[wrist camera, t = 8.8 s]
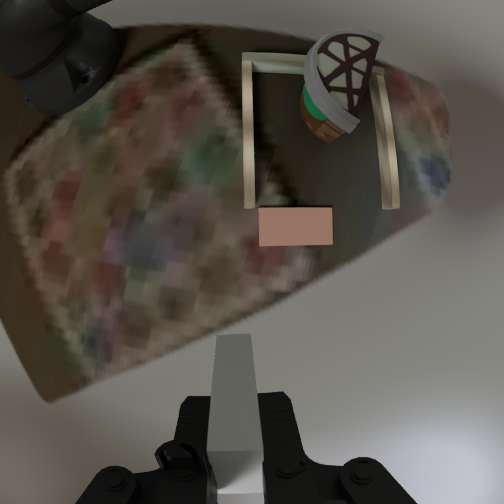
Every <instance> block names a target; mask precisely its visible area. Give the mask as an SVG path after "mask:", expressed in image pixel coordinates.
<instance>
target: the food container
mask: <svg viewBox="0 0 504 504" xmlns="http://www.w3.org/2000/svg"><path fill="white" fill-rule="evenodd" d="M383 39H384V37H383V36H381V35H379V34H377V33H374V32H371V31H368V30H364V29H359V28H344V29H338V30H335V31H333V32H331V33H328V34H326V35H325V36H323V37H322V38H321V39H319V40H318V41H317V42H316V43H315V44H314V45H313V46H312V48H311V49H310V50H309V52H308V53H307V55H306V58H305V61H304V69H303V71H304V79H305V84H304V87H303V90H302V93H301V97H300V102H299V107H300V113H301V116H302V119H303V121H304V123H305V124H306V126H307V127H308V128H309V130H310V131H311V132H312V133H313V134H314V135H315V136H316V137H318V138H319V139H320V140H322V141H324V142H326V143H327V144H329V143H330V142H332V141H333V140H334V139H336V138H337V137H339V136H340V135H342V134H343V133H345V132H348V133H349V134H350V133H351V132H352V131H353V130H354V128H355V127H356V126H357V124H358V123H359V122H360V120H359V119H357V117H358V113H359V109H360V106H361V103H362V100H363V97H364V94H365V91H366V88H367V85H368V82H369V79H370V76H371V73H372V68H373V64H374V60H375V57H376V53H377V50H378V46H379V44H380V43H381V42H382V40H383Z"/></svg>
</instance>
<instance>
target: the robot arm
mask: <svg viewBox="0 0 504 504" xmlns="http://www.w3.org/2000/svg"><path fill="white" fill-rule="evenodd" d="M109 1H112V0H0V71H1V72H3V73H4V74H6V75H8V76H9V77H11V78H12V79H14V80H15V82H16V84H17V85H18V87H19V88H20V90H21V91H22V92H23V94H24V97H25V99H26V101H27V103H28V104H29V105H30V106H31V107H32V108H34V109H36V110H37V111H39V112H41V113H43V114H46V115H59V114H62V113H65V112H68V111H70V110H72V109H74V108H76V107H78V106H79V105H81V104H82V103H84V102H85V101H86V100H88V99H89V98H90V97H91V96H92V95H93V94H94V93H96V92H97V90H98V89H99V88H100V87H101V86H102V85H103V84H104V83H105V81H106V80H107V79H108V77H109V76H110V74H111V72H112V71H113V69H114V67H115V65H116V62H117V60H118V56H119V51H120V43H119V39H118V37H117V35H116V33H115V32H114V30H113V29H112V27H111V26H110V25H109V24H108V23H106V22H104V21H102V20H100V19H97V18H96V17H94V16H92V15H91V14H89V13H87V11H89V10H91V9H93V8H96V7H98V6H100V5H102V4H105V3H107V2H109ZM155 457H156V460H157V462H158V464H159V466H160V468H159V469H157V470H154V471H149V472H142V473H134V474H133V473H132V472H131V471H130V470H128V469H126V468H125V467H120V466H109V467H106V468H104V469H102V470H101V471H100V472H98V473H97V474H96V476H95V477H94V479H93V480H92V481H91V483H90V484H89V485H88V487H87V488H86V490H85V491H84V492H83V494H82V495H81V496H80V498H79V499H78V501H77V502H76V503H75V504H218V502H217V491H218V494H239V493H240V494H241V493H261V492H264V500H265V501H264V504H417V503H416V502H415V501H414V500H413V498H411V496H410V495H409V494H408V493H407V492H406V491H405V490H404V489H403V487H402V486H401V485H400V484H399V483H398V482H397V481H396V480H395V479H394V478H393V476H392V475H391V474H390V473H389V472H388V471H387V470H386V468H385V467H384V466H383V465H382V464H381V463H379V462H378V461H377V460H375V459H372V458H369V457H358V458H355V459H351V460H350V461H348V462H347V463H345V464H344V465H343V466H333V465H323V464H319V463H316V462H314V461H312V460H311V459H309V458H308V456H307V455H306V454H305V453H304V450H303V447H302V442H301V438H300V434H299V431H298V427H297V422H296V420H295V415H294V412H293V407H292V403H291V400H290V398H289V397H288V396H287V395H286V394H285V393H284V392H271V393H257V389H256V380H255V371H254V362H253V353H252V343H251V334H232V335H217V341H216V350H215V360H214V370H213V380H212V391H211V396H188V397H187V398H186V399H185V401H184V402H183V403H182V404H181V406H180V411H179V417H178V421H177V426H176V432H175V436H174V440H171V441H169V442H166V443H164V444H162V445H161V446H160V447H159V448H158V449H157V451H156V452H155Z"/></svg>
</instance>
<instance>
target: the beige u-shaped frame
mask: <svg viewBox="0 0 504 504" xmlns="http://www.w3.org/2000/svg"><path fill="white" fill-rule="evenodd" d="M305 58H306V55H296V54H282V53H254V52H242V117H243V172H244V208H254V207H255V175H254V135H253V98H252V72H270V73H291V74H304V71H303V69H304V61H305ZM384 75H385V72H384V68H382V67H377V66H373V68H372V73H371V76H370V79H369V82H368V83H369V88H370V94H371V100H372V106H373V113H374V120H375V127H376V135H377V144H378V153H379V164H380V177H381V193H382V209H396V208H400V199H399V182H398V169H397V159H396V150H395V141H394V133H393V126H392V120H391V113H390V107H389V102H388V96H387V91H386V86H385V81H384V77H383V76H384Z"/></svg>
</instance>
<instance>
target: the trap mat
mask: <svg viewBox="0 0 504 504" xmlns="http://www.w3.org/2000/svg"><path fill="white" fill-rule="evenodd" d="M332 244H333V227H332V208H259V246H288V245H332Z"/></svg>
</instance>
